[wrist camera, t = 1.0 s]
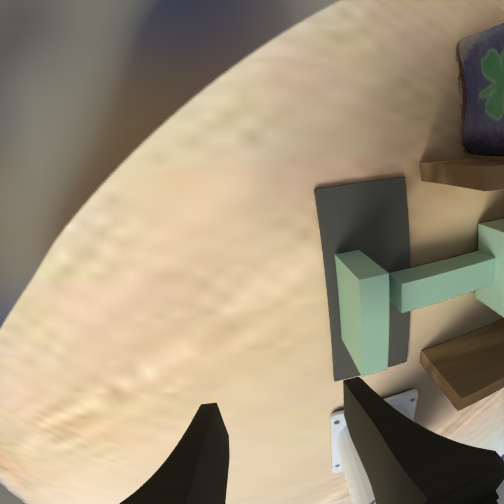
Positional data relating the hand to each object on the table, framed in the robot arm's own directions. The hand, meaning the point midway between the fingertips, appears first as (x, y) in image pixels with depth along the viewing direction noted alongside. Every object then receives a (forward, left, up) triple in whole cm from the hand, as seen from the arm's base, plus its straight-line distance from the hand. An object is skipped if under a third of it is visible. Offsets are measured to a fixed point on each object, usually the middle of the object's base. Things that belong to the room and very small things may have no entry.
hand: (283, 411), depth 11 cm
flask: (+13, -18, -10) cm, 24 cm away
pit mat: (0, -7, -9) cm, 12 cm away
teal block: (0, -15, -9) cm, 17 cm away
